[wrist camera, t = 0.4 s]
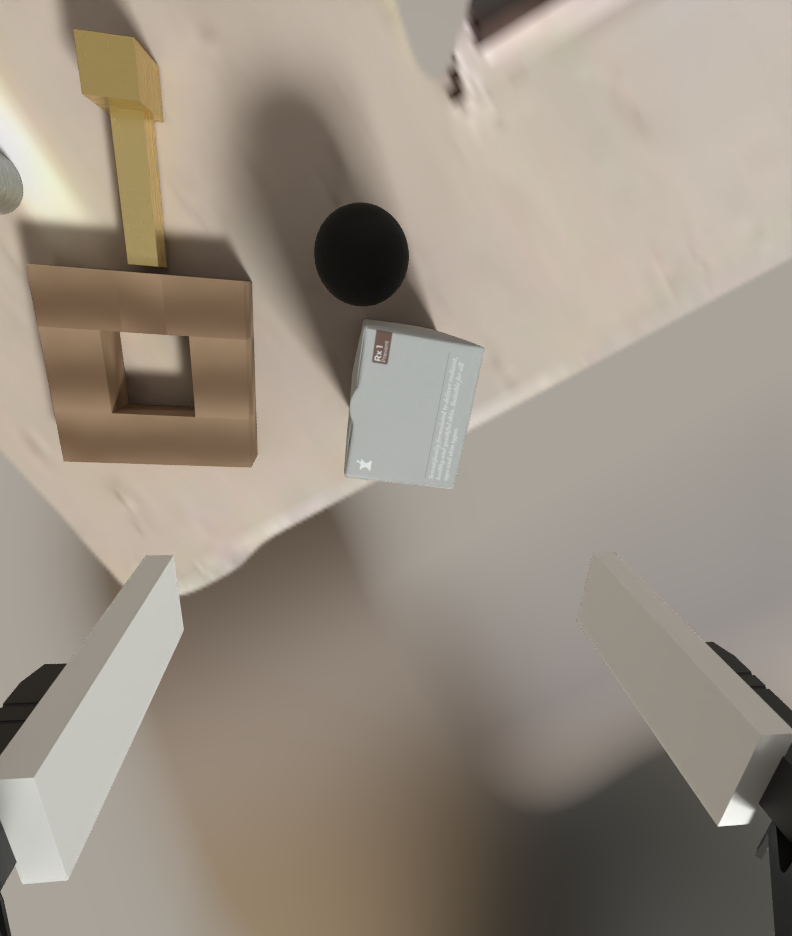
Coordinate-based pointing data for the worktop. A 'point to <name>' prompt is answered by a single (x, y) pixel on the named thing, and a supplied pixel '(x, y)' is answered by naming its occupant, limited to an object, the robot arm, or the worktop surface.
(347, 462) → the skincare box
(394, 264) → the light bulb
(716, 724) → the robot arm
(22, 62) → the worktop surface
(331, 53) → the worktop surface
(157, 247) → the lock pin
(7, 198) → the cylinder
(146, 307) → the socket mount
